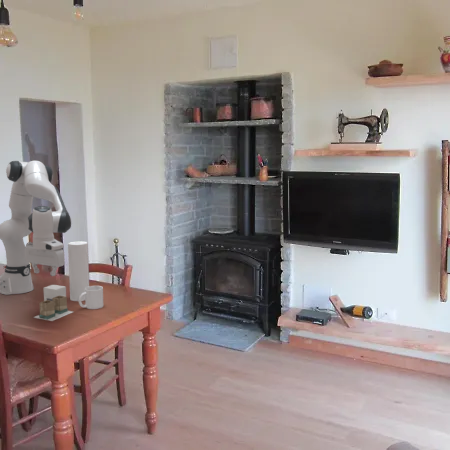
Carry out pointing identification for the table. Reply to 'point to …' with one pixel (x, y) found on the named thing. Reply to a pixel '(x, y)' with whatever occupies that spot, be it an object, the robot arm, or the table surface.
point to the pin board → (56, 316)
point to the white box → (54, 291)
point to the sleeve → (47, 309)
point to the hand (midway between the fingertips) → (44, 274)
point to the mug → (92, 297)
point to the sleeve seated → (60, 304)
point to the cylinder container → (78, 269)
